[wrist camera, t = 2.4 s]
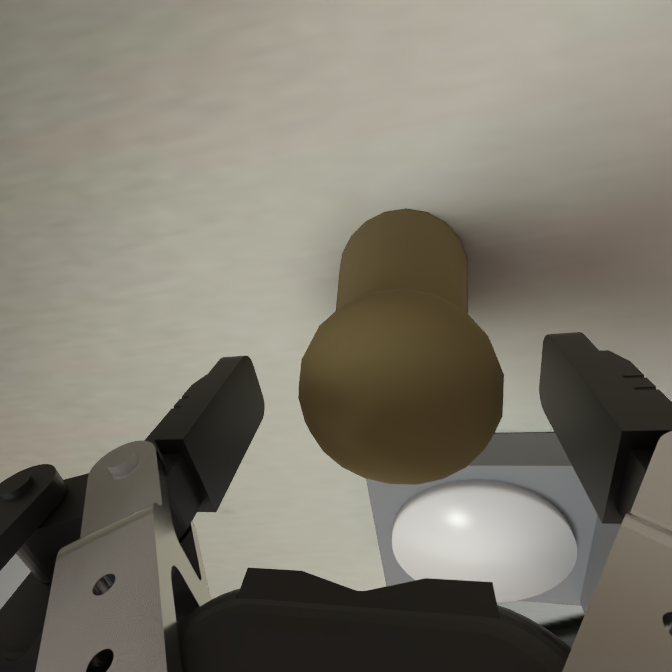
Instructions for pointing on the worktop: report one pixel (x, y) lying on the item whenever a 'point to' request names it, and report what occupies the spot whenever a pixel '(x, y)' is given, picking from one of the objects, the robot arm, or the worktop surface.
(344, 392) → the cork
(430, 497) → the knob on square plate
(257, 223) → the worktop surface
